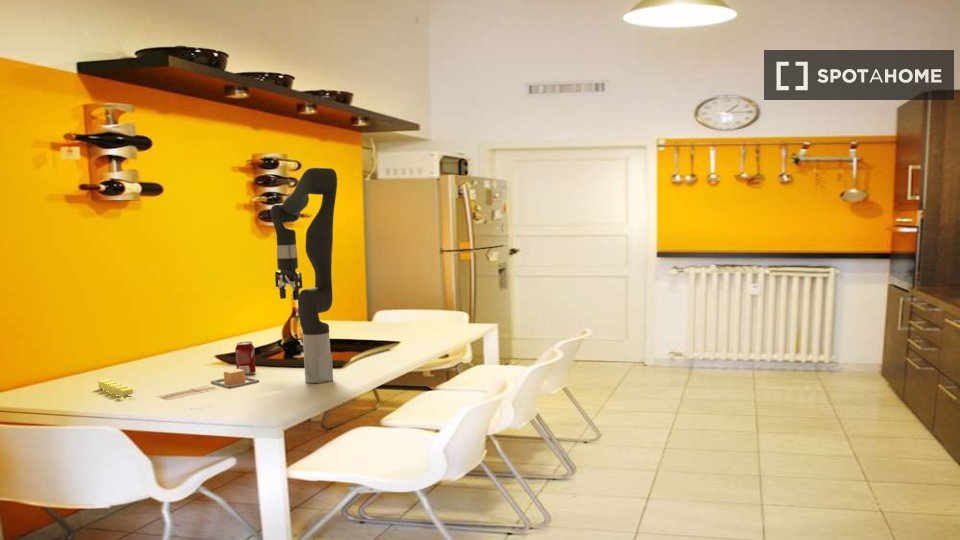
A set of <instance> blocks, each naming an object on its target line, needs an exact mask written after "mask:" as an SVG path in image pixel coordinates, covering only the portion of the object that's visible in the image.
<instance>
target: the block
mask: <svg viewBox="0 0 960 540" xmlns="http://www.w3.org/2000/svg"><path fill="white" fill-rule="evenodd" d="M245 377H246V375H245V370H241V369H237V368H235V369H230V370H225V371H223V379H224V381H223V382H224V383H223V384H226V385H230V386H232V385H236V384H241V383H245V382H246V379H245Z"/></svg>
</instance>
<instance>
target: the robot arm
mask: <svg viewBox="0 0 960 540" xmlns="http://www.w3.org/2000/svg"><path fill="white" fill-rule="evenodd" d="M337 188H338V176H337V172H336V170H335V169H334V168H331V167H309V168H307V169H306V170H304V172H303V173H302V175H301V176H300V178H299V180H298V182H297V184H296V186H295V187H294V189H293V191H292V192H291V193H290V194H289V195H288V196H287V197H286V198H285V199H284V201H283V203H275V204H273V205H272V206H271V208H270V211H269V213H270V214H269V215H270V219H271V221H272V224H273V226H274V227H273V228H274V229H275V230H274V231H275V236H276V263H277V264H276V266H277V270H278V271H275V272H274V275H275V278H274V281H275V287H276V288H278V289H279V298H280V299H281V300H282V299H286V298H287V290H286V287H287V285H289V286H290V287H291V288H292V300H293V301H297V306H298V307H297V308H298V315H299V316H298V317H299V325H300V327H301V330H302V341H303V342H302V343H303V344H302V345H303V346H302V347H303V361H304V362H303V364H304V379H305V382H306V383H309V384H322V383H326V382H327V383H328V382H331V381H334V371H333V354H331V341H330V326H329V324H328V323H326V322H323V321H321V320H320V315H319V314H321V313H325V312H326V313H327V311H329V310H331V308H332V305H333V280H332V279H333V278H332V264H333V261H332V260H333V257H332V255H333V241H334V215H335V213H334V212H335V206H336V205H335V204H336V199H337V190H338V189H337ZM309 195H321V196H322V199H321V204H320V207H319V210H318V212H317V213H316V215H315V216H314V217H313V219H312V220H311V222H310V224H309V225H308V227H307V229H306V233H305V253H306V256H307V258H308V261H309V262H310V264H311V266H312V268H313V270H314V271H313V272H314V278H315V279H314V287H310V288H309V287H308V288H304V289H303V278H302V272H297V271H296V270H297V269H298V268H299V263H298V262H299V260H298V248H297V236H296V231H295V229H292V228H289V227H288V228H287V227H285V225H284V223H295V222H297V221H298V220H299V218H300V215H301V212H302V211H303V210H304V209H305V208H307V206H308V204H309V201H310V197H309ZM301 289H302V290H301ZM300 290H301V291H300Z"/></svg>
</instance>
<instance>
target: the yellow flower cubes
mask: <svg viewBox="0 0 960 540" xmlns="http://www.w3.org/2000/svg"><path fill="white" fill-rule="evenodd" d="M100 389H102V390H103V389H104V390H105V391H107V392H108V391H109V392H110V393H112V394H115V395H118V396H119V395H120V397H123V398H126V397H132V396H131V395H129V394H134V388H132V387H128V386H127V385H123V384H121V383H118V382H115V381H112V380H110V379H103V380H98V390H100ZM102 390H101V391H102ZM104 390H103V391H104ZM105 391H104V392H105ZM107 392H106V393H107ZM109 392H108V393H109ZM110 393H109V394H110ZM112 394H111V395H112ZM115 395H114V396H115ZM120 397H119V398H120Z"/></svg>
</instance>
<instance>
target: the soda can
mask: <svg viewBox="0 0 960 540" xmlns="http://www.w3.org/2000/svg"><path fill="white" fill-rule="evenodd" d="M255 355H256V354H255V346H254V344H253V342H252V341H248V340H247V341H239V342H236V347H235V363H236V369H241V370H245V376H252V375H254V374H255V373H256V372H257V371H256V357H255Z"/></svg>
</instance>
